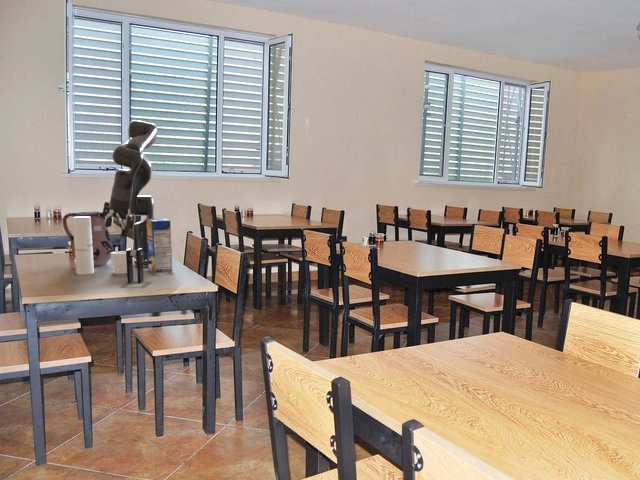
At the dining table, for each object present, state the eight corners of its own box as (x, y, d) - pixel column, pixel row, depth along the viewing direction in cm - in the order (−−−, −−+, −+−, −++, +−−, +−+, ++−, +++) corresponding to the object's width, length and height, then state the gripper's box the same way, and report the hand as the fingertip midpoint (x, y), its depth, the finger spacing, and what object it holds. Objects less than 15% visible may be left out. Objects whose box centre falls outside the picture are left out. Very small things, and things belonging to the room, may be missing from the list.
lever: (134, 265, 274) (135, 259, 275) (151, 265, 275) (152, 259, 275) (123, 255, 261) (124, 249, 261) (141, 255, 261) (142, 249, 262)
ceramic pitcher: (112, 267, 303) (109, 214, 299) (62, 269, 297) (58, 214, 292) (115, 261, 320) (112, 210, 315) (68, 263, 313) (64, 211, 309)
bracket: (129, 282, 269) (127, 247, 267) (149, 282, 270) (147, 247, 268) (121, 287, 260) (119, 251, 257) (142, 287, 260) (140, 251, 258)
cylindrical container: (97, 272, 289) (94, 216, 285) (83, 275, 283) (79, 218, 279) (87, 271, 293) (83, 215, 289) (72, 273, 287) (68, 217, 282)
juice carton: (148, 271, 295) (146, 218, 291) (165, 270, 299) (163, 218, 295) (155, 275, 286) (152, 221, 281) (172, 274, 290) (170, 220, 286)
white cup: (134, 273, 289) (133, 251, 287) (125, 277, 281) (124, 254, 279) (117, 273, 290) (116, 251, 288) (108, 276, 282) (106, 253, 280)
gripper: (142, 202, 257) (135, 237, 264) (116, 186, 261) (110, 221, 268) (127, 205, 250) (121, 241, 257) (100, 189, 254) (95, 225, 261)
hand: (115, 231), depth 262 cm, fingers open, 8 cm apart
